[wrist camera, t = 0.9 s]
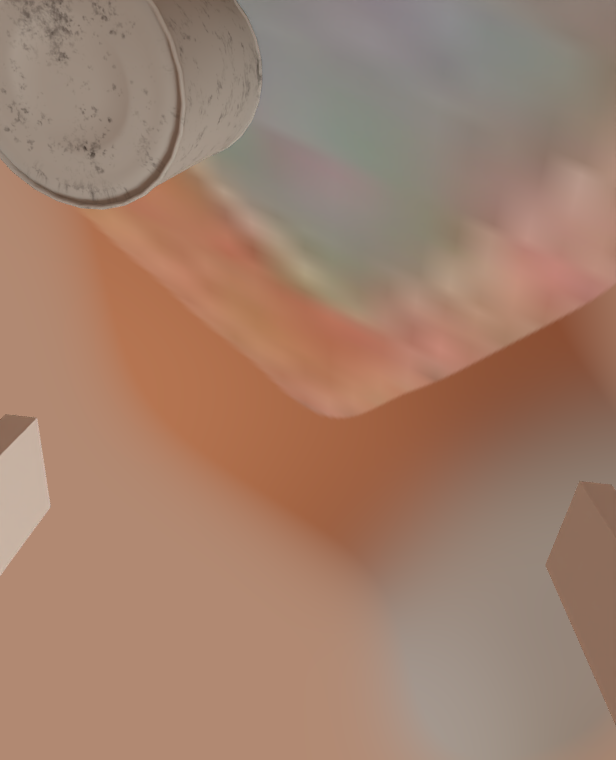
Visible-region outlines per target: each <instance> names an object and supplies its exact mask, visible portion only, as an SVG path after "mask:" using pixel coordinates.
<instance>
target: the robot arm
mask: <svg viewBox="0 0 616 760" xmlns="http://www.w3.org/2000/svg"><path fill="white" fill-rule="evenodd" d="M49 508H50V500H49V493H48V487H47V481H46V474H45V467H44V461H43V454H42V449H41V441H40V434H39V428H38V421H37V418H32V417H25V416H16V415H7V414H6V415H4V416H3V417H2V418H1V419H0V575H1V574H2V572H3V571H4V570H5V568H6V567H7V565H8V564H9V563H10V562H11V560H12V559H13V557H14V556H15V555H16V553H17V552H18V551H19V549H20V548H21V547H22V545H23V544H24V542H25V541H26V540H27V538H28V537H29V536H30V534H31V533H32V531H33V530H34V529H35V527H36V526H37V525H38V523H39V522H40V521H41V519H42V518H43V517H44V515H45V514H46V512H47V511H48V509H49ZM546 567H547V570H548V572H549V574H550V577H551V579H552V581H553V583H554V586H555V588H556V590H557V593H558V595H559V597H560V600H561V602H562V604H563V606H564V609H565V611H566V613H567V615H568V618H569V620H570V622H571V625H572V627H573V629H574V631H575V633H576V636H577V638H578V641H579V643H580V645H581V647H582V650H583V652H584V654H585V656H586V659H587V661H588V663H589V666H590V668H591V670H592V672H593V675H594V677H595V679H596V681H597V684H598V686H599V688H600V691H601V693H602V695H603V698H604V700H605V702H606V704H607V707H608V709H609V711H610V713H611V716H612V718H613V720H614V722H615V725H616V490H615V489H614V487H613V486H612V485H610V484H601V483H593V482H584V481H579V484H578V486H577V489H576V491H575V494H574V496H573V499H572V501H571V504H570V506H569V509H568V511H567V513H566V516H565V518H564V521H563V523H562V526H561V528H560V530H559V533H558V535H557V538H556V540H555V543H554V545H553V548H552V550H551V553H550V555H549V558H548V560H547V562H546Z"/></svg>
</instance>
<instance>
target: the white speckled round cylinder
mask: <svg viewBox="0 0 616 760" xmlns="http://www.w3.org/2000/svg"><path fill="white" fill-rule="evenodd" d="M261 88H262V60H261V56H260V51H259V47H258V42H257V38H256V36H255V33H254V31H253V29H252V26H251V24H250V22H249V19H248V17H247V16H246V14H245V13H244V11H243V10H242V8H241V7H240V5H239V4H238V3H237V1H236V0H0V159H1V160H2V161H3V162H4V163H5V164H6V165H7V166H8V167H9V169H11V171H12V172H13V173H15V174H16V175H17V176H18V177H20V178H21V179H22V180H24V181H25V182H26V183H27V184H29V185H30V186H31V187H32V188H34V189H35V190H37V191H39V192H41V193H43V194H45V195H47V196H49V197H51V198H53V199H54V200H56V201H59V202H62V203H66V204H69V205H72V206H76V207H79V208H88V209H109V208H114V207H119V206H124V205H127V204H129V203H131V202H133V201H135V200H137V199H139V198H141V197H143V196H145V195H146V194H148V193H149V192H150V191H151V190H152V189H153V188H154V187H156V186H158V185H159V184H161V183H163V182H165V181H166V180H168V179H170V178H172V177H174V176H175V175H177V174H179V173H181V172H182V171H184V170H186V169H188V168H190V167H191V166H193V165H195V164H197V163H198V162H200V161H202V160H204V159H206V158H207V157H209V156H212V155H215V154H217V153H219V152H221V151H223V150H225V149H227V148H229V147H230V146H231V145H232V144H233V143H234V142H236V141H237V140H238V139H239V138H240V137H241V136H242V135H243V133H244V132H245V130H246V129H247V127H248V126H249V125H250V123H251V122H252V119H253V117H254V114H255V112H256V109H257V107H258V104H259V100H260V94H261Z"/></svg>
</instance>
